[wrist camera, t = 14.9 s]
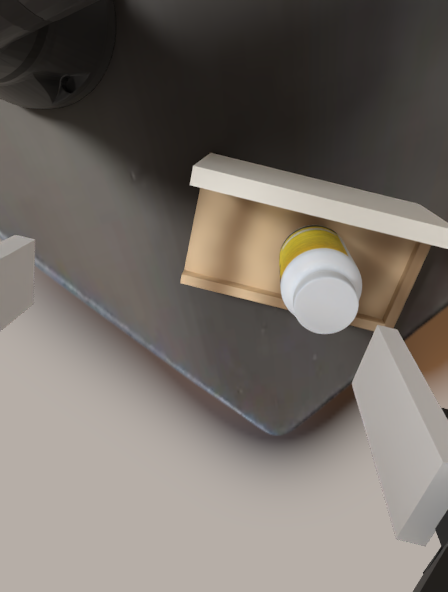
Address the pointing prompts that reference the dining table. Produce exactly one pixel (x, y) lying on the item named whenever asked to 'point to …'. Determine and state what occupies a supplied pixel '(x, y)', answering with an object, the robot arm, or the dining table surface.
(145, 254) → the dining table surface
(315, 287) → the pill bottle
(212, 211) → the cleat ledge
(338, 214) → the wall board
